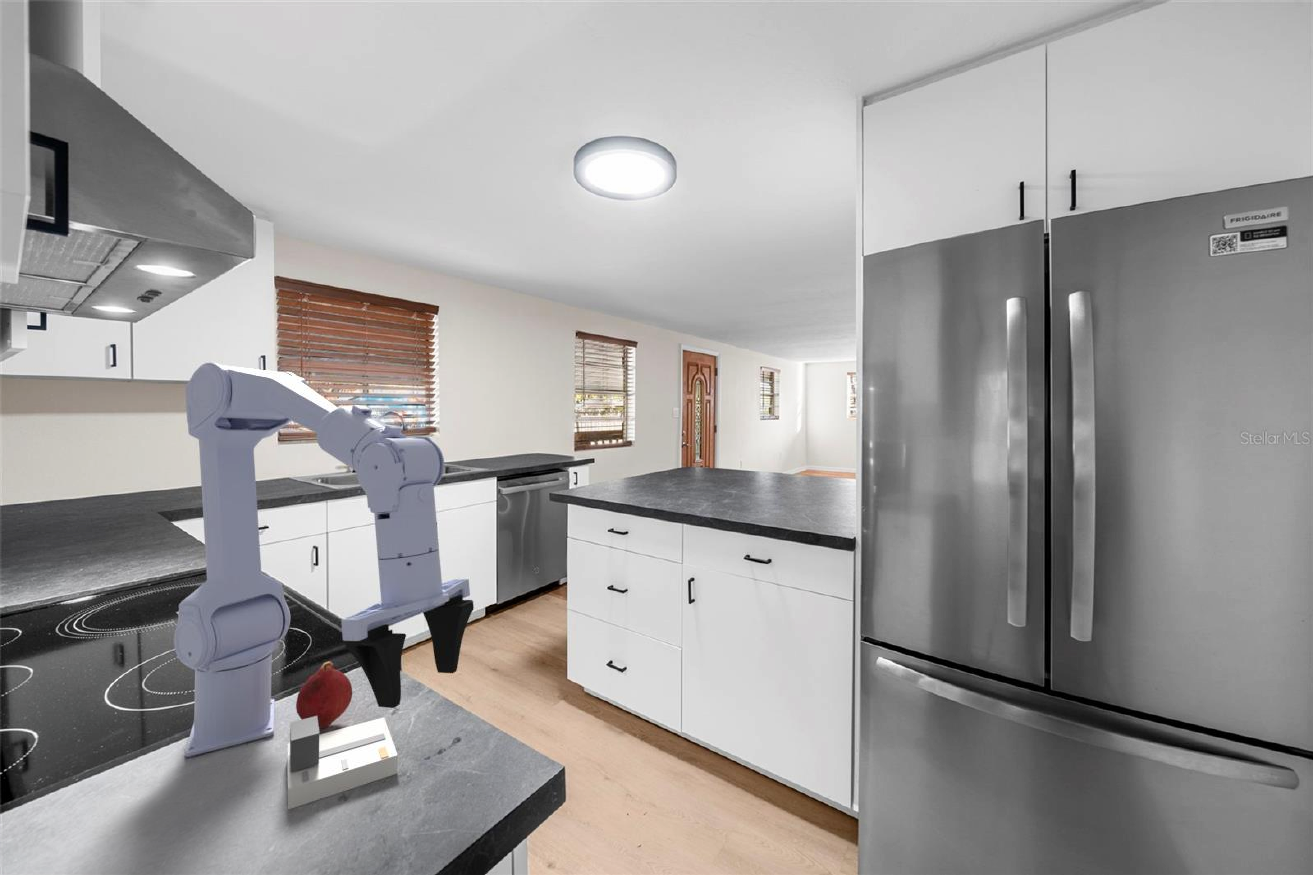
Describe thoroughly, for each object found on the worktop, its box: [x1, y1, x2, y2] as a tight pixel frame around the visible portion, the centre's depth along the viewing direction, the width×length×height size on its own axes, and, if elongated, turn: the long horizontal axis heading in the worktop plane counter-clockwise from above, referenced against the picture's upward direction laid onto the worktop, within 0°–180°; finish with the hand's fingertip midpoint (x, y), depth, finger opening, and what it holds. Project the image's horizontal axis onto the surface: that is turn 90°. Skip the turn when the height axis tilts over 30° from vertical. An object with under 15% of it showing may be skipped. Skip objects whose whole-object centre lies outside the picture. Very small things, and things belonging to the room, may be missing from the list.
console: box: [286, 717, 399, 810], centre depth 57 cm, size 9×10×2 cm
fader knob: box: [289, 716, 320, 772], centre depth 55 cm, size 4×2×3 cm, turn 36°
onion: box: [295, 661, 353, 729], centre depth 64 cm, size 6×6×8 cm
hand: (420, 687), depth 53 cm, fingers open, 7 cm apart
